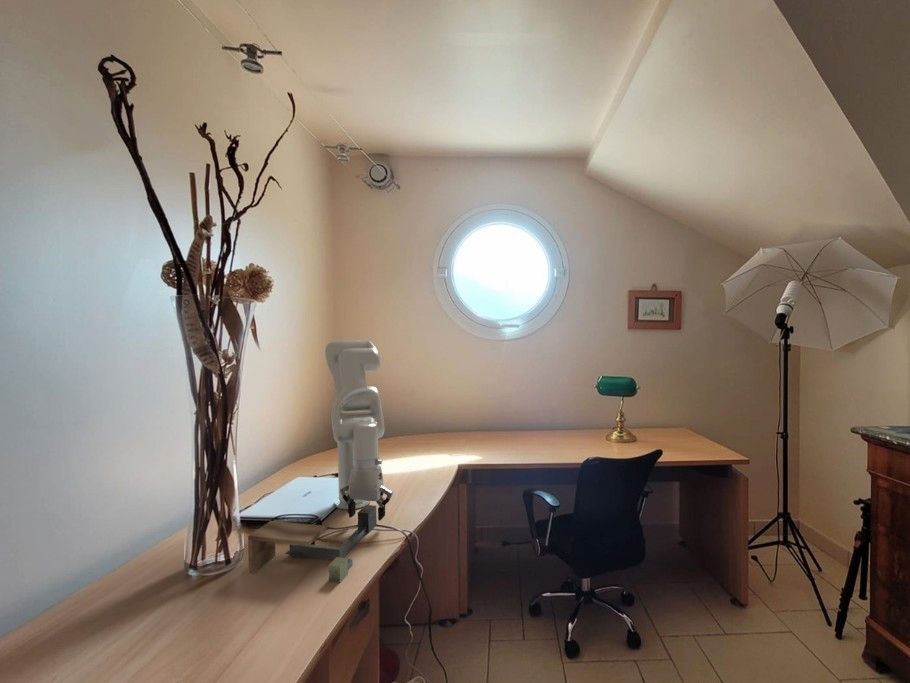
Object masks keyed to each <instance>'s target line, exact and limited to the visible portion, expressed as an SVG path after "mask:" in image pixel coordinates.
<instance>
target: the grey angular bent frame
mask: <svg viewBox="0 0 910 683" xmlns="http://www.w3.org/2000/svg"><path fill="white" fill-rule="evenodd" d="M377 520H378V514H377V505H372V504H368V505H365V506H364V507H361V508H360V510H358V512H357V529H356V530H355V531H354V532H353V533H352V534H351V535H350V536H349V537H348V538H347V539H345V541H343V543H342V544H341V545H340V546H330V545H320V544H315V545H311V544H310V545H309V546H305V545H295V544H288V545H289V549H288V551H289V552H290V554H289V556H291V557H300V558H307V559H308V558H310V559H317V560H319V559H320V560H328V561H333V560H334V559H335V558H336V557H341V558H345V556H346V555H347V554H348V553H349V552H350V551H351V550H352V549H353V548H354V547H355V546H356V545H357V543H359V541H360V540H361V539H362V538H364V536H365V535H366V534H369V533H371V531H373V529H374V528H375V527H376V526H377V523H378V521H377Z"/></svg>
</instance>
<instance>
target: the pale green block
mask: <svg viewBox="0 0 910 683" xmlns="http://www.w3.org/2000/svg"><path fill="white" fill-rule="evenodd" d="M353 564H354V563H353V558H348V557H343V558H341V557H336V558H335V559H334V560H331V562H329V564H328V583H338V584H340V583H342V581H344V579H345V578H346V577H347V576H348V573H349V572H348V571H349V570H350V569H351V568H352V567H353Z"/></svg>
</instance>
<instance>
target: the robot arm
mask: <svg viewBox="0 0 910 683" xmlns="http://www.w3.org/2000/svg"><path fill="white" fill-rule="evenodd" d="M324 351H325V352H324V353H325V354H324V355H325V360H326V365H327V367H328V369H329V371H330V374H331V376H332V378H333V383H334V384H333V385H334V395H335V401H334V403H333V404H332V408H331V413H330V414H331V415H330V416H331V418H330V420H331V428H332V435H333V439H334V441H335V442H336V444H337V467H338V468H337V471H338V474H337V475H338V476H337V477H338V479H337V480H338V498H339V500H340V504H339V505H338V506H337V505H336V506H335V508H337V509H341V510H347V514H348V518H349V519H350V518H353V517H354V516H355V515H356V509H362V508H363V507H364V506H365V505H370V503H371V502H376V504H377V505H378V507H377V520H378V521H382V520H383V519H384V518H385V516H386V505H387V504H389V502H390V501H391V499H392V496H393V495H394V491H392V490H390V489H389V488H387V487H385V483H384V482H385V481H384V475H383V471H382V466H381V465H383V460H382V459H380V458H379V439H381V438H382V437H383V436H384V434H385V431H386V430H385V429H386V428H385V420H384V412H383V407H382V401H381V394H380V392H379V389H377V387H376V386H373V385H368V384H367V377H366V372H375V371H376V372H377V371H378V370H379V368H380V366H381V357H380V354H379V351H378V349H377V347H376V346H375V345H374V343H373V342H372V341H371V340H368V339H355V340H354V339H348V340H347V339H345V340H341V339H340V340H334V341H330V342H329V343H328V344H326V346H325V350H324ZM365 412H366V413H365ZM341 413H344V414H347V415H343V416H341ZM349 413H351V414H349ZM352 413H353V414H352ZM355 413H357V414H355ZM384 495H385V496H386V497H385V498H384V497H383V496H384Z"/></svg>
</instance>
